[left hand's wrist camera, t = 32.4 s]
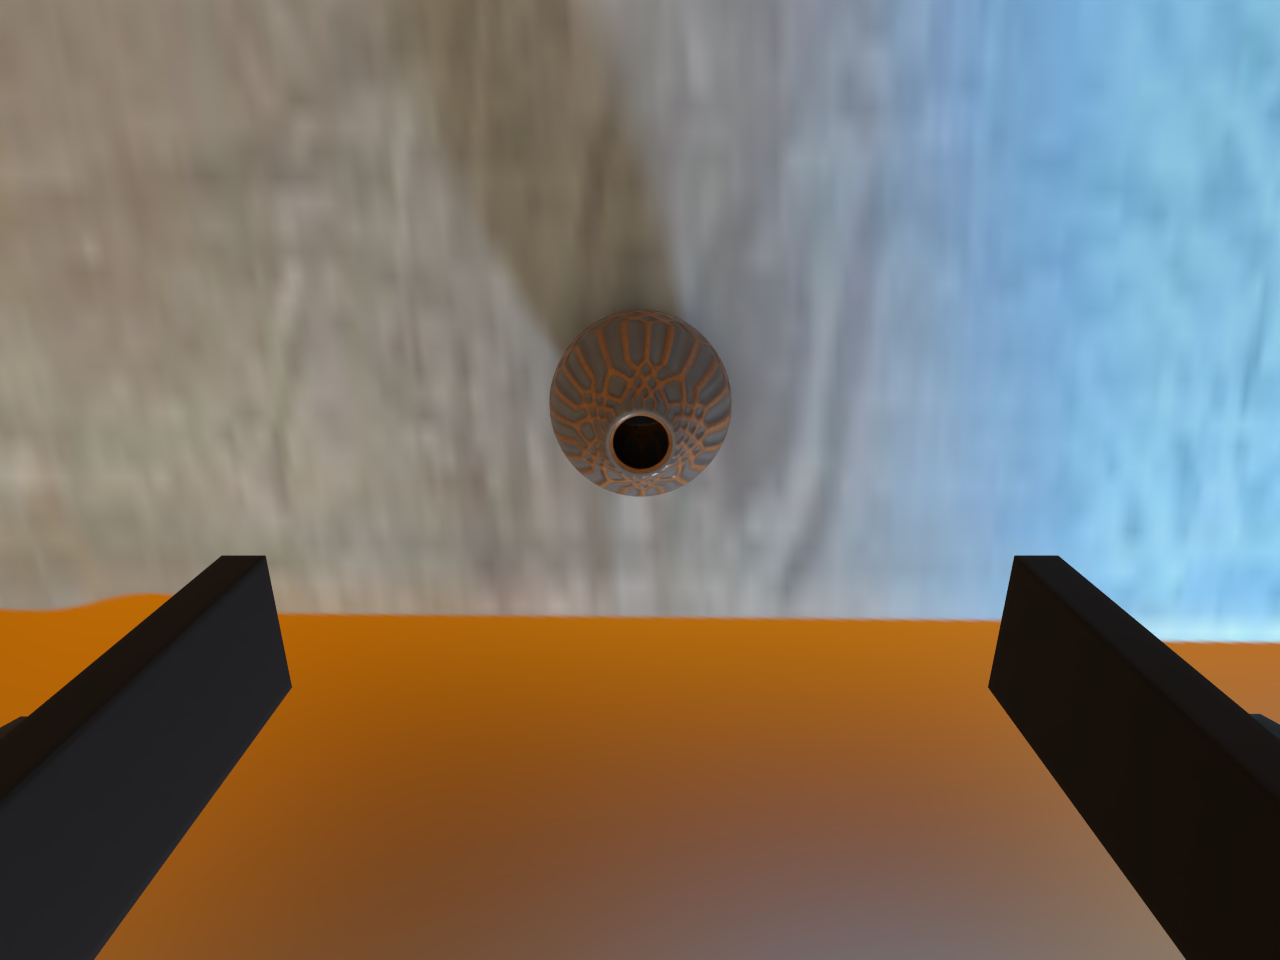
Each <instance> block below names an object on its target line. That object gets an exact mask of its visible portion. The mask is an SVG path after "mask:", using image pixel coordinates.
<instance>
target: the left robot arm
mask: <svg viewBox="0 0 1280 960" xmlns="http://www.w3.org/2000/svg"><path fill="white" fill-rule="evenodd" d="M291 688H292V685H291V680H290V676H289V671H288V665H287V661H286V655H285V651H284V645H283V640H282V636H281V631H280V625H279V620H278V615H277V610H276V605H275V601H274V596H273V591H272V586H271V581H270V576H269V571H268V566H267V561H266V556H221V557H220V558H218V559H217V560H216V561H215V562H214V563H212V564H211V565H210V566H209V567H208V568H206V569H205V570H204V571H203V572H202V573H200V574H199V575H198V576H197V577H195V578H194V579H193V580H192V581H191V582H189V583H188V584H187V585H186V586H185V587H183V588H182V589H181V590H180V591H179V592H177V593H176V594H175V595H174V596H173V597H171V598H170V599H169V600H168V601H167V602H165V603H164V604H163V605H162V606H161V607H159V608H158V609H157V610H156V611H155V612H153V613H152V614H151V615H150V616H149V617H147V618H146V619H145V620H144V621H143V622H141V623H140V624H139V625H138V626H136V627H135V628H134V629H133V630H132V631H130V632H129V633H128V634H127V635H126V636H124V637H123V638H122V639H121V640H120V641H118V642H117V643H116V644H115V645H114V646H112V647H111V648H110V649H109V650H108V651H106V652H105V653H104V654H103V655H102V656H100V657H99V658H98V659H97V660H95V661H94V662H93V663H92V664H91V665H89V666H88V667H87V668H86V669H85V670H83V671H82V672H81V673H80V674H79V675H77V676H76V677H75V678H74V679H73V680H71V681H70V682H69V683H68V684H67V685H65V686H64V687H63V688H62V689H61V690H59V691H58V692H57V693H56V694H55V695H53V696H52V697H51V698H50V699H49V700H47V701H46V702H45V703H44V704H42V705H41V706H40V707H39V708H38V709H36V710H35V711H34V712H33V713H32V714H30V715H29V716H28V717H19V718H17V719H15V720H13V721H12V722H10V723H8V724H6V725H4V726H3V727H1V728H0V960H94V959H95V957H96V956H97V955H98V953H99V952H100V951H101V949H102V948H103V946H104V945H105V944H106V942H107V941H108V940H109V938H110V937H111V935H112V934H113V933H114V931H115V930H116V929H117V927H118V926H119V924H120V923H121V922H122V920H123V919H124V917H125V916H126V915H127V913H128V912H129V911H130V909H131V908H132V907H133V905H134V904H135V902H136V901H137V900H138V898H139V897H140V896H141V894H142V893H143V891H144V890H145V889H146V887H147V886H148V885H149V883H150V882H151V880H152V879H153V878H154V876H155V875H156V873H157V872H158V871H159V869H160V868H161V867H162V865H163V864H164V863H165V861H166V860H167V858H168V857H169V856H170V854H171V853H172V852H173V850H174V849H175V847H176V846H177V845H178V843H179V842H180V841H181V839H182V838H183V836H184V835H185V834H186V832H187V831H188V829H189V828H190V827H191V825H192V824H193V823H194V821H195V820H196V818H197V817H198V816H199V814H200V813H201V812H202V810H203V809H204V808H205V806H206V805H207V803H208V802H209V801H210V799H211V798H212V796H213V795H214V794H215V792H216V791H217V790H218V788H219V787H220V786H221V784H222V783H223V781H224V780H225V779H226V777H227V776H228V774H229V773H230V772H231V770H232V769H233V768H234V766H235V765H236V763H237V762H238V761H239V759H240V758H241V757H242V755H243V754H244V753H245V751H246V750H247V748H248V747H249V746H250V744H251V743H252V742H253V740H254V739H255V737H256V736H257V735H258V733H259V732H260V730H261V729H262V728H263V726H264V725H265V724H266V722H267V721H268V719H269V718H270V717H271V715H272V714H273V713H274V711H275V710H276V708H277V707H278V706H279V704H280V703H281V702H282V700H283V699H284V697H285V696H286V695H287V693H288V692H289V691H290V689H291ZM988 688H989V689H990V691H991V692H992V693H993V695H994V696H995V697H996V699H997V700H998V702H999V703H1000V704H1001V706H1002V707H1003V708H1004V710H1005V711H1006V713H1007V714H1008V715H1009V717H1010V718H1011V719H1012V721H1013V722H1014V724H1015V725H1016V726H1017V728H1018V729H1019V731H1020V732H1021V733H1022V735H1023V736H1024V737H1025V739H1026V740H1027V741H1028V743H1029V744H1030V746H1031V747H1032V748H1033V750H1034V751H1035V753H1036V754H1037V755H1038V757H1039V758H1040V759H1041V761H1042V762H1043V764H1044V765H1045V766H1046V768H1047V769H1048V770H1049V772H1050V773H1051V775H1052V776H1053V777H1054V778H1055V780H1056V781H1057V783H1058V784H1059V786H1060V787H1061V788H1062V790H1063V791H1064V792H1065V794H1066V795H1067V796H1068V798H1069V799H1070V801H1071V802H1072V803H1073V805H1074V806H1075V808H1076V809H1077V810H1078V812H1079V813H1080V814H1081V816H1082V817H1083V819H1084V820H1085V821H1086V823H1087V824H1088V825H1089V827H1090V828H1091V830H1092V831H1093V832H1094V834H1095V835H1096V836H1097V838H1098V839H1099V841H1100V842H1101V843H1102V845H1103V846H1104V847H1105V849H1106V850H1107V852H1108V853H1109V854H1110V856H1111V857H1112V858H1113V860H1114V861H1115V863H1116V864H1117V865H1118V867H1119V868H1120V869H1121V871H1122V872H1123V873H1124V875H1125V876H1126V878H1127V879H1128V880H1129V882H1130V883H1131V884H1132V886H1133V887H1134V889H1135V890H1136V891H1137V893H1138V894H1139V896H1140V897H1141V898H1142V900H1143V901H1144V902H1145V904H1146V905H1147V906H1148V908H1149V909H1150V911H1151V912H1152V913H1153V915H1154V916H1155V917H1156V919H1157V920H1158V922H1159V923H1160V924H1161V926H1162V927H1163V929H1164V930H1165V931H1166V933H1167V934H1168V935H1169V937H1170V938H1171V939H1172V941H1173V942H1174V944H1175V945H1176V946H1177V948H1178V949H1179V951H1180V952H1181V953H1182V955H1183V956H1184V957H1185V959H1186V960H1280V725H1279V724H1278V723H1276V722H1274V721H1272V720H1270V719H1268V718H1267V717H1265V716H1263V715H1261V714H1248V713H1247V712H1246V711H1245V710H1244V709H1242V708H1241V707H1240V706H1239V705H1238V704H1236V703H1235V702H1234V701H1233V700H1231V699H1230V698H1229V697H1228V696H1227V695H1225V694H1224V693H1223V692H1222V691H1221V690H1219V689H1218V688H1217V687H1216V686H1215V685H1213V684H1212V683H1211V682H1210V681H1209V680H1207V679H1206V678H1205V677H1204V676H1203V675H1201V674H1200V673H1199V672H1198V671H1197V670H1195V669H1194V668H1193V667H1192V666H1190V665H1189V664H1188V663H1187V662H1186V661H1184V660H1183V659H1182V658H1181V657H1180V656H1178V655H1177V654H1176V653H1175V652H1174V651H1172V650H1171V649H1170V648H1169V647H1168V646H1166V645H1165V644H1164V643H1163V642H1162V641H1160V640H1159V639H1158V638H1157V637H1156V636H1154V635H1153V634H1152V633H1151V632H1150V631H1148V630H1147V629H1146V628H1145V627H1144V626H1142V625H1141V624H1140V623H1139V622H1138V621H1136V620H1135V619H1134V618H1133V617H1131V616H1130V615H1129V614H1128V613H1127V612H1125V611H1124V610H1123V609H1122V608H1121V607H1119V606H1118V605H1117V604H1116V603H1115V602H1113V601H1112V600H1111V599H1110V598H1109V597H1107V596H1106V595H1105V594H1104V593H1103V592H1101V591H1100V590H1099V589H1098V588H1097V587H1095V586H1094V585H1093V584H1092V583H1091V582H1089V581H1088V580H1087V579H1086V578H1085V577H1083V576H1082V575H1081V574H1080V573H1078V572H1077V571H1076V570H1075V569H1074V568H1072V567H1071V566H1070V565H1069V564H1068V563H1066V562H1065V561H1064V560H1063V559H1062V558H1060V557H1059V556H1014V561H1013V566H1012V571H1011V576H1010V581H1009V586H1008V591H1007V596H1006V600H1005V605H1004V610H1003V615H1002V620H1001V625H1000V631H999V636H998V641H997V645H996V650H995V655H994V661H993V665H992V670H991V675H990V680H989V685H988Z"/></svg>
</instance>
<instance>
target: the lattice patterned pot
mask: <svg viewBox="0 0 1280 960" xmlns="http://www.w3.org/2000/svg"><path fill="white" fill-rule="evenodd" d="M731 403H732V402H731V390H730V384H729V380H728V377H727V374H726V370H725V368H724V366H723V363H722V361H721V359H720V357H719V356H718V354H717V352H716V351H715V349H714V348H713V347H712V345H711V344H710V343H709V342H708V341H707V339H706V338H705V337H704V336H703V335H702V334H701V333H700V332H698V331H697V330H696V329H695V328H693V327H692V326H690V325H689V324H687V323H686V322H684V321H682V320H680V319H678V318H676V317H674V316H671V315H669V314H665V313H662V312H657V311H650V310H631V311H624V312H619V313H616V314H613V315H610V316H607V317H605V318H603V319H601V320H599V321H597V322H595V323H594V324H592V325H591V326H589V327H588V328H586V329H585V330H584V331H583V332H582V333H581V334H579V335H578V336H577V337H576V338H575V340H574V341H573V342H572V343H571V344H570V346H569V347H568V348H567V350H566V351H565V353H564V354H563V356H562V358H561V360H560V361H559V363H558V366H557V368H556V371H555V374H554V377H553V381H552V385H551V390H550V416H551V422H552V426H553V430H554V433H555V436H556V438H557V441H558V443H559V445H560V447H561V449H562V451H563V452H564V454H565V455H566V457H567V458H568V460H569V461H570V462H571V463H572V465H573V466H574V467H575V468H576V469H577V470H578V471H579V472H580V473H581V474H582V475H583V476H585V477H586V478H587V479H589V480H590V481H592V482H593V483H595V484H596V485H598V486H600V487H602V488H604V489H606V490H609V491H612V492H615V493H618V494H622V495H628V496H654V495H659V494H663V493H667V492H670V491H672V490H675V489H677V488H679V487H681V486H683V485H685V484H686V483H688V482H690V481H691V480H693V479H694V478H695V477H697V476H698V475H699V474H700V473H701V472H702V471H703V470H704V469H705V468H706V467H707V466H708V465H709V464H710V462H711V461H712V460H713V458H714V457H715V456H716V454H717V452H718V451H719V449H720V447H721V445H722V443H723V441H724V438H725V436H726V433H727V430H728V427H729V423H730V417H731Z"/></svg>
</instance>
